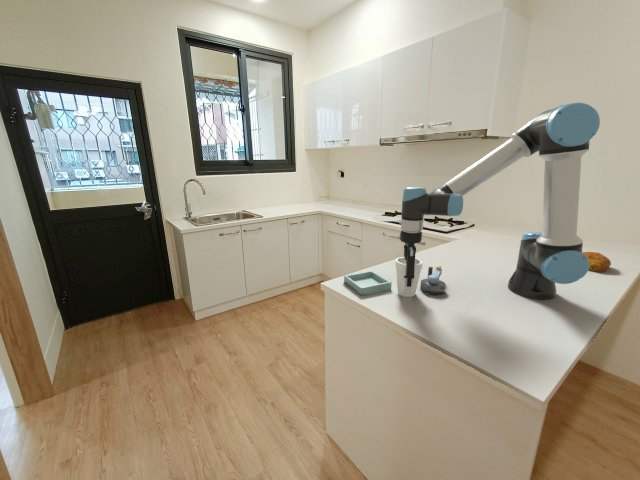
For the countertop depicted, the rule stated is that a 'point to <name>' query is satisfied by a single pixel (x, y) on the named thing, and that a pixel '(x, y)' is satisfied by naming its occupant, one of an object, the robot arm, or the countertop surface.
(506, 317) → the countertop surface
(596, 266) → the croissant
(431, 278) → the crank
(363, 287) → the tray
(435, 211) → the robot arm
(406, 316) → the countertop surface
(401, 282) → the foam cup
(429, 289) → the crank base
